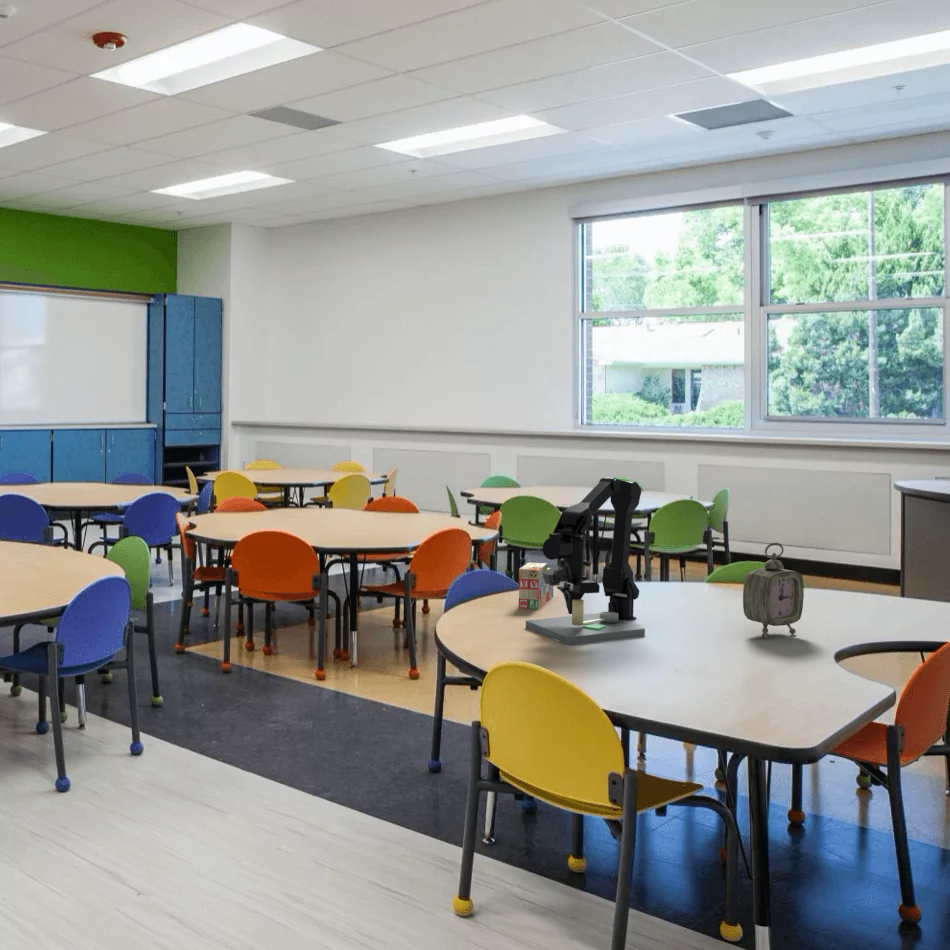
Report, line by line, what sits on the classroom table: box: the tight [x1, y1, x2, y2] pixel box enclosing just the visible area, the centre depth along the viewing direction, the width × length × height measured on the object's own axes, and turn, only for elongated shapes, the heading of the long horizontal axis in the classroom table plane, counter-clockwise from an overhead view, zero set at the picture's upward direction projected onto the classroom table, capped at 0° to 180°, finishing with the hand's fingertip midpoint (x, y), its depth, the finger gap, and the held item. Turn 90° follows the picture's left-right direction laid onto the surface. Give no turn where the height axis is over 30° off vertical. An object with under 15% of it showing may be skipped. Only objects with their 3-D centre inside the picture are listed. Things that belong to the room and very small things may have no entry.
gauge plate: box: [525, 612, 646, 646], centre depth 277 cm, size 24×22×2 cm
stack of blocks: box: [518, 562, 554, 610], centre depth 317 cm, size 21×6×12 cm, turn 164°
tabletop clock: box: [742, 542, 805, 640], centre depth 274 cm, size 14×9×25 cm, turn 122°
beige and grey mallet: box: [571, 598, 618, 626], centre depth 277 cm, size 16×5×7 cm, turn 129°
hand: (570, 614), depth 276 cm, fingers closed
